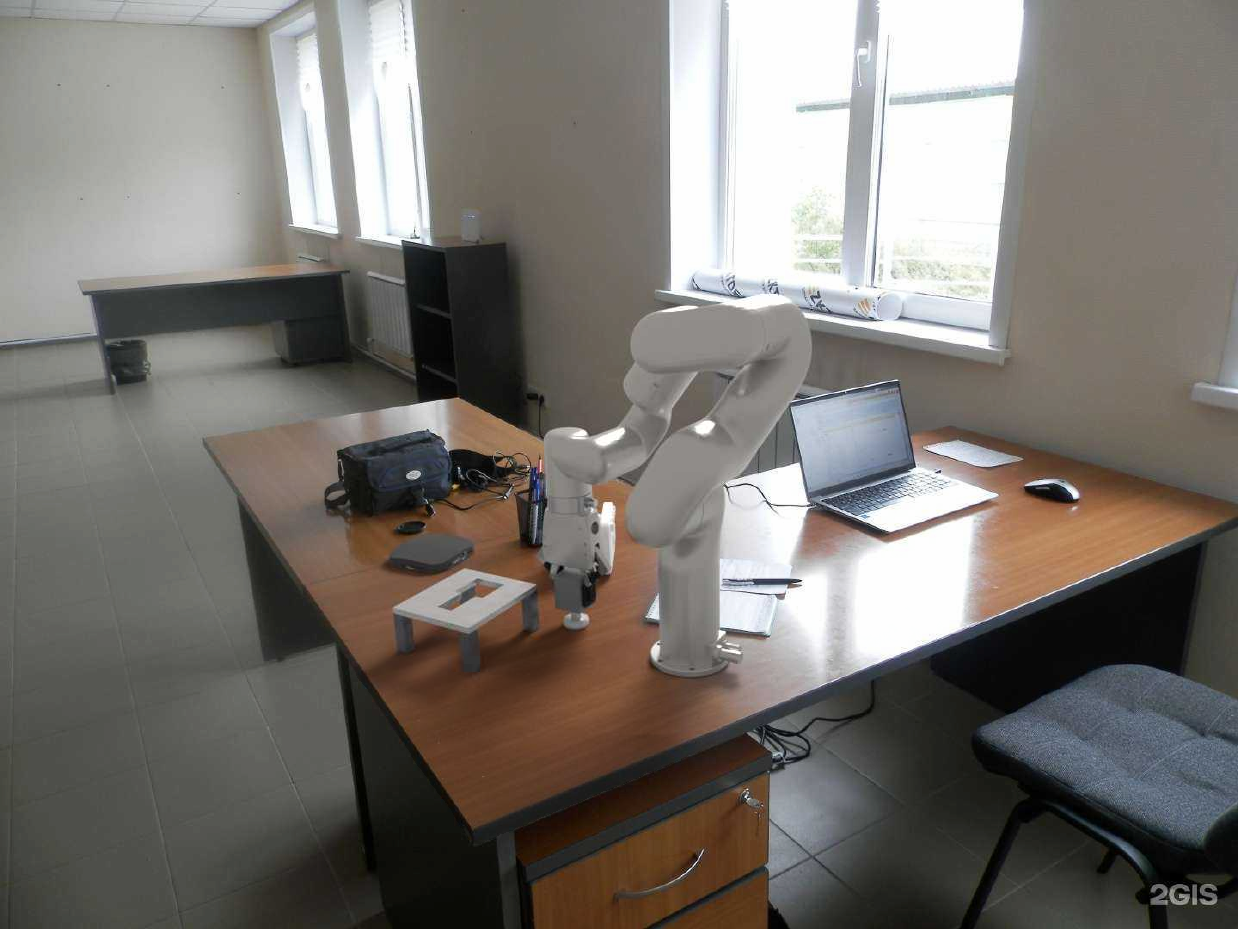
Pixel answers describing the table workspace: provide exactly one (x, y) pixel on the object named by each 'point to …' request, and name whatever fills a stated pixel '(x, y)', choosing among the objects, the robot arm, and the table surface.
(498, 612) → the miniature table
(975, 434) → the table surface
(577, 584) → the peg
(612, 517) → the cable organizer
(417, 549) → the media streaming box
